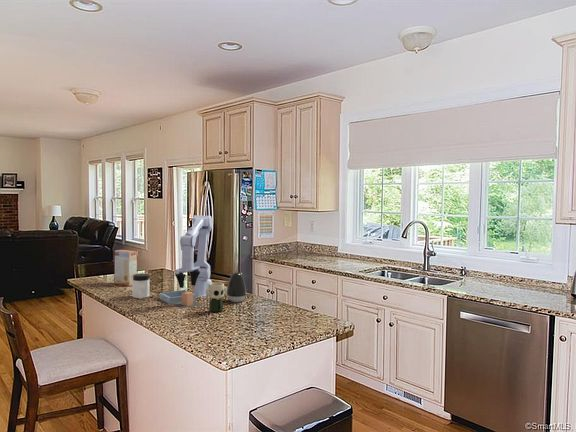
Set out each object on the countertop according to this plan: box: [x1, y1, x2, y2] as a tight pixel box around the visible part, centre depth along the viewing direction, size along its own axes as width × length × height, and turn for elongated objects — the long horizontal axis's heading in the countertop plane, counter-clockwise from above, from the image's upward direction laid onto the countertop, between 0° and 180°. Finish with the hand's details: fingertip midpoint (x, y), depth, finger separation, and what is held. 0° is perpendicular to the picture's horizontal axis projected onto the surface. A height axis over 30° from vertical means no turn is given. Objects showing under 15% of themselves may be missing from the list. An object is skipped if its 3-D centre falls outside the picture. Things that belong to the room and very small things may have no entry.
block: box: [181, 290, 194, 306], centre depth 213 cm, size 4×4×6 cm
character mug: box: [205, 282, 228, 313], centre depth 203 cm, size 11×7×13 cm, turn 127°
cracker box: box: [114, 249, 138, 287], centre depth 261 cm, size 14×6×21 cm, turn 58°
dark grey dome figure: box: [226, 271, 247, 303], centre depth 224 cm, size 10×10×15 cm
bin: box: [158, 289, 197, 305], centre depth 223 cm, size 14×14×4 cm
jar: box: [131, 273, 151, 299], centre depth 229 cm, size 9×8×12 cm
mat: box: [172, 301, 203, 310], centre depth 213 cm, size 12×10×1 cm
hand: (187, 286), depth 214 cm, fingers open, 7 cm apart
